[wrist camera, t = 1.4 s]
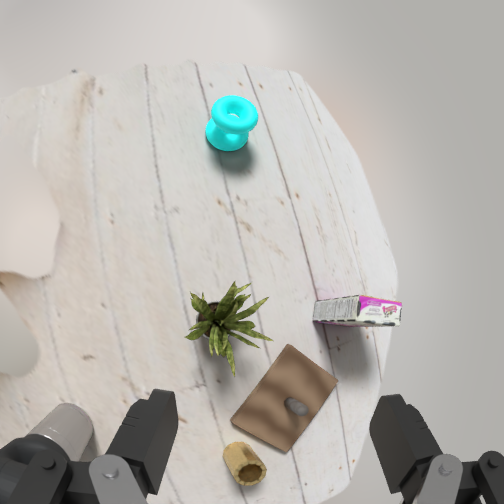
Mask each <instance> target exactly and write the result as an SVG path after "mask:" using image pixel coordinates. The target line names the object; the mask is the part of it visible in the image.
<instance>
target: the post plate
mask: <svg viewBox="0 0 504 504" xmlns="http://www.w3.org/2000/svg"><path fill="white" fill-rule="evenodd" d="M337 382H338V380H337V379H336V378H334V377H333V376H332V375H330V374H329V373H328V372H326V371H325V370H323V369H322V368H321V367H319V366H318V365H317V364H315V363H314V362H313V361H311V360H310V359H309V358H307V357H306V356H305V355H303V354H302V353H301V352H300V351H298V350H297V349H296V348H294V347H293V346H292V345H289V344H287V345H286V346H285V348H284V349H283V350H282V352H281V353H280V355H279V356H278V357H277V359H276V360H275V362H274V363H273V364H272V366H271V367H270V369H269V370H268V371H267V373H266V374H265V375H264V377H263V378H262V379H261V381H260V382H259V383H258V385H257V386H256V387H255V389H254V390H253V391H252V393H251V394H250V395H249V396H248V398H247V399H246V400H245V402H244V403H243V404H242V405H241V407H240V408H239V409H238V410H237V412H236V413H235V414H234V415H233V417H232V418H231V419H230V420H231V422H232V423H233V424H235V425H237V426H238V427H240V428H242V429H244V430H245V431H247V432H249V433H251V434H252V435H254V436H256V437H258V438H260V439H262V440H263V441H265V442H267V443H269V444H271V445H273V446H275V447H277V448H279V449H281V450H283V451H285V452H287V451H288V450H289V449H290V447H291V446H292V445H293V444H294V442H295V441H296V440H297V439H298V437H299V436H300V435H301V433H302V432H303V431H304V429H305V428H306V427H307V425H308V424H309V423H310V421H311V420H312V419H313V417H314V416H315V414H316V413H317V412H318V410H319V409H320V407H321V406H322V404H323V403H324V401H325V400H326V399H327V397H328V396H329V394H330V393H331V391H332V390H333V388H334V387H335V385H336V383H337Z"/></svg>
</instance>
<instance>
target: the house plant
mask: <svg viewBox="0 0 504 504" xmlns="http://www.w3.org/2000/svg"><path fill="white" fill-rule="evenodd" d="M235 281H236V280H235ZM235 281H234V283H233V284H232V286H231V287H230V289H229V291H228V292H227V294H226V296H224V298H223V299H222V300H221V301H211V302H208V303H207V302H206V301H205V300H204V295H203V293H202V299H200V298H199V297H198V296H197V295H195V294H192V293H191V292H190V293H191V296H192V298H193V299H194V300H193V299H191V301H192V306H193V308H194V309H195V310H196V311H197V312H198V314H197V317H196V324H195V325H194V326H193V327H192V328H190V329H189V330H193V329H197V330H194V331H193V332H191V333H190V334H189V335H187V336H186V337H185V338H187V339H189V340H196V339H198V338H199V337H200V336H204V337H205V338H207V339H209V348H210V353H211V357H212V355H213V349H214V347H215V350H216V353H217V355H218V353H219V355H220V354H221V355H222V356H223V357H225V356H226V355H227V359H228V362H229V364H230V366H231V370H232V373H233V375H234V377H235V364H234V357H233V352H232V347H231V345H230V343H229V341H228V337H229V336H230V335H231V336H234V337H236V338H237V339H239V340H241V341H243V342H244V343H246V344H248V345H251V346H254V347H256V348H259V347H258V346H257V345H255V344H254V343H252V342H250V341H249V340H247V339H245V338H243V337H242V336H240V335H238V334H235V333H233V331H234V330H236V331H239V332H242V333H244V334H247V335H249V336H251V337H254V338H259V339H264V340H268V341H273V340H272V339H270V338H268V337H266V336H264V335H262V334H260V333H258V332H256V331H253V330H251V329H252V328H254V327H255V325H254V323H253V322H251V321H238V320H241V319H244V318H246V317H248V316H250V315H252V314H253V313H255V312H256V310H257V309H258V308H259V307H260V306H261V305H262V304H263V303H264V302H266V300H267V299H268V297H267V298H265V299H263V300H261V301H259V302H258V303H256V304H255V305H253V306H252V307H250V308H248V309H247V310H244V311H242V312H239V313H237V311H238V310H239V309H240V308H241V307H242V305H243V303H244V301H245V300H246V299H247V298H249V297H250V295H251V294H250V295H248V296H245V294H244V295H239V296H238V297H236V298H235V300H234V297H235V296H236V294H237V293H239V292H241V291H242V290H244V289H245V288H247V287H248V286H249V285H250V284H251V283H250V284H247V285H245V286H243V287H241V288H238V289H237V286H236V285H235ZM236 313H237V314H236ZM218 357H219V356H218Z"/></svg>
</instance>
